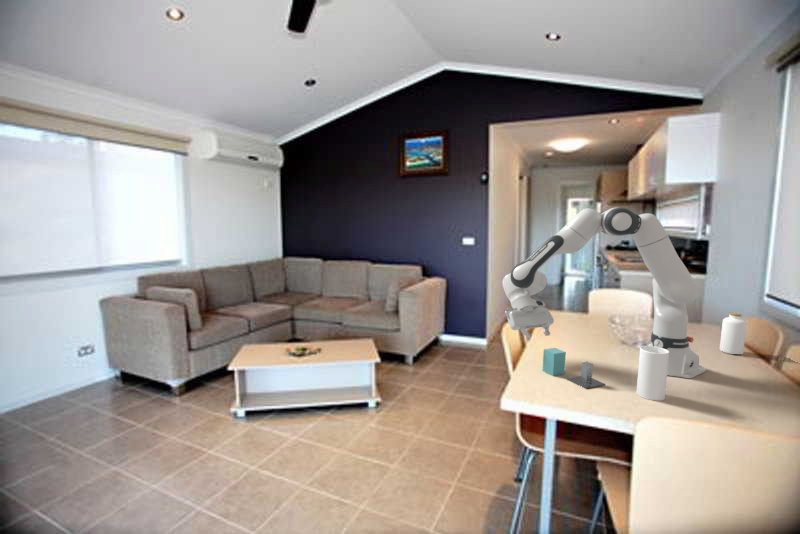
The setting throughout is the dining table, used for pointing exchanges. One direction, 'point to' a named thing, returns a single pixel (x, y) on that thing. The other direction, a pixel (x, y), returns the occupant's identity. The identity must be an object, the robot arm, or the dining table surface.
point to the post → (586, 377)
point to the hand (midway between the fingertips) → (538, 336)
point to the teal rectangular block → (554, 361)
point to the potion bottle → (733, 334)
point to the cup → (652, 372)
